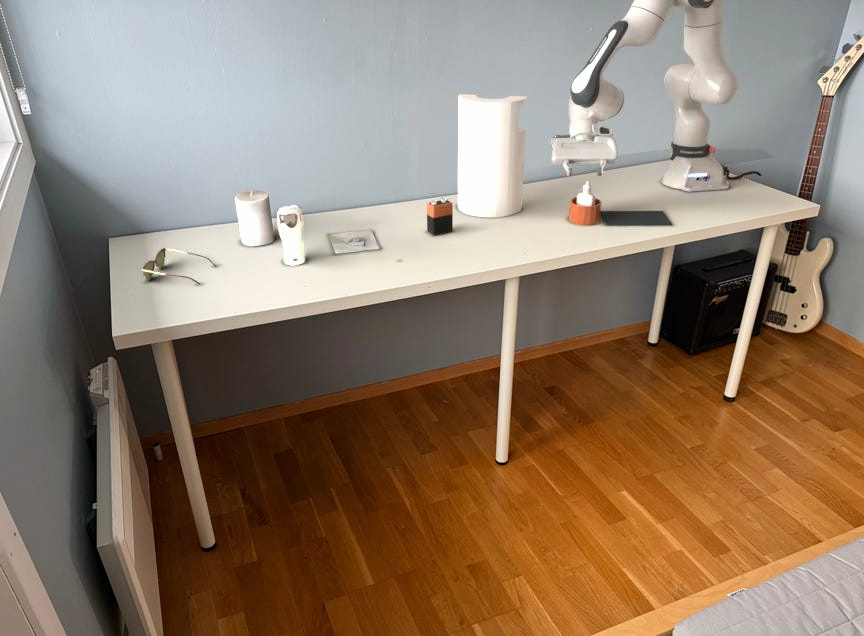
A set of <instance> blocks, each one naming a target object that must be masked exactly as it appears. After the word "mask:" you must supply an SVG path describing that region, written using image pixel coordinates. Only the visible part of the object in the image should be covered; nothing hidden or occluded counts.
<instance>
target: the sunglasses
mask: <svg viewBox="0 0 864 636" xmlns="http://www.w3.org/2000/svg"><path fill="white" fill-rule="evenodd" d="M166 251H169V252H170V251H171V252H178V253H184V254H187V255H192V256H196V257H200V258H204V259H206V260H208V261H209V263H211V264H212V266H214V267H217V265H216V264H215V263H214V262H213V261H212V260H211V259H210V258H209V257H208V256H204V255H201V254H197V253H193V252H192V253H191V252H187V251H182V250H177V249H172V248H166V247H163V248H160V250H159V251H158V252H157V253H156V254H155V257H154V259H153V260H148V261H147V262H146V263H144V265H142V267H141V272H142V274H143V277H144V279H145V281H146V282H147V281H150V280H151V279H152V278H153V275H154V274H158V275H163V276H169V277H177V278H182V279H183V278H185V279H189V280H192V281H193V282H195V283H196V284H198V285H201V282H199V281H197V280H195V279H194V278H193V277H190V276H186V275H180V274H179V275H178V274H172V273H164V272H157V271H155V268H157V269H158V270H162V269H163V267H164V265H165V262H166V259H165V258H166Z"/></svg>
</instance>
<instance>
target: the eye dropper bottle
mask: <svg viewBox="0 0 864 636" xmlns="http://www.w3.org/2000/svg"><path fill="white" fill-rule="evenodd" d="M576 197H577V205H581V206H594V205H595V198H596V196H595V195H594V194H593V193H592V185H591V184H590V181H589V180H586V183H585V184H583V187H582V191H581V192H579V193H578V194H577V196H576Z"/></svg>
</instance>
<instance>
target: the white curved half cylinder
mask: <svg viewBox="0 0 864 636" xmlns="http://www.w3.org/2000/svg"><path fill="white" fill-rule="evenodd" d="M527 102H528V96H521V95H510V96H507V97H502V98H484V97H478V96H477V94H467V93H465V94H464V93H459V94H458V115H457V117H458V118H457V119H458V120H457V121H458V122H457V123H458V124H457V125H458V127H457V132H458V133H457V137H458V138H457V151H458V152H457V208H458V210H459V211H460V212H461V213H463V214H466V215H469V216H473V217H478V218H502V217H508V216H513V215H515V214H517V213H519V212H520V211H521V210H522V205H523V203H522V202H523V186H524V170H525V169H524V168H525V151H526V149H525V148H526V132H527V131H526V130H525V129H523V128H522V127H520V126H519V112H520V111H519V108H520V107H522V106H523V105H525V104H526V103H527Z"/></svg>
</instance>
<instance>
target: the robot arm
mask: <svg viewBox="0 0 864 636" xmlns="http://www.w3.org/2000/svg"><path fill="white" fill-rule="evenodd" d="M673 7H678V8H681V7H684V8H685V9H684V16H683V17H684V20H683V41H682V42H683V43H682V45H683V46H682V47H683V51H684V53H685V54H686V55H687V56H688V57H689V58H690V60H691V61H692V63H693V64H692V63H678V64H674V65H672V66H670V67H669V68H668V70H667V71H666V73H665V75H664V78H663V88H664V90H665V93H666V94H667V95H668V97H669V98H670V101H671V103H672V105H673V110H674V117H675V118H674V119H675V121H674V123H675V124H674V131H673V139H672V141H671V143H670V147H669V151H668V152H669V154H668V158H669V159H668V163H667V167H666V170H665V173H664V175H663V177H662V179H661V183H662V184H663V185H664V186H667V187H669V188H672V189H677V190H681V191H684V192H689V193H690V192H691V193H692V192H705V191H718V190H719V191H721V190H728V189H729V188H730V183H729V181H728V180H737V179H741V178H743V177H744V176H750V175H758V177H762V173H761V172H759V171H757V170H752V171H747V172H743V173H741V174H740V175H735V176H730V170H729V169H728V166H726V165H724V164H721V163H719V162H718V160H716V158H714V156H712V155H714V154H715V153H716V151H717V149H716V147H714V146H712V145H710V144H709V143H708V138H709V132H710V127H711V120H710V118H709V116H708V115H707V114H706V112H705V111H704V110H703V107H702V104H706V105H726V104H727V103H729V102H730V101H732V99H733V98H734V97H735V95H736V94H737V91H738V87H739V83H738V82H739V81H738V78H737V75H736V74H735V73H734V72H733V71H732V70H731V69H730V67H729V65H728V64H727V62H726V60H725V57H724V53H723V50H722V19H723V18H722V17H723V11H722V10H723V3H722V0H633V2H632V3H631V5H630V8H628V9H629V10H628V12H627V13H626V14H625V16H624V17H623V18H622V19H621V20H618V21H616V22H614V23H613V24H612V25H611V27H610V28H609V29H608V30H607V32H606V33H605V35H604V36H603V38H602V39H601V40H600V42H599V44H598V45H597V47H596V48H595V49H594V50H593V51H594V52H593V53H592V54H591V56H590V58H589V59H588V60H587V62H586V64H585V65H584V66H583V68H582V69H581V70H580V72H578V73H577V74H576V76H575V78H574V79H573V80H572V82H571V85H570V94H569V98H568V118H569V125H568V134H555V135H554V136H551V138H550V147H551V148H552V150H551V162H552V164H553V165H562V168H563V169H564V170H565V171H566V176H567V177H572V176H573V168H572V167H571V168H570V166H569V165H572V164H573V165H600V168H597V173H596V174H597V175H596V176H597V177H603V175H604V169H605V167H606V165H614V164H615V163H616V162H617V160H618V157H619V153H618V145H617V142H616V139H615V138H614V137H613V135H614V131H613V129H612V128H609V127H606V126H603V125H600V124H599V122H603V121H607V120H609V119H611V118H613V117H615V116H617V115H618V114H619V113H620V112H621V110H622V108H623V106H624V103H625V94H624V92H623V90H621V88H619V87H618V86H616V85H614V84H613V83H611V82H609V81H608V80H606V79H604V78H603V74H604V73H605V70H606V69H607V68H608V66H609V65H610V63H611V61H612V60H613V58H614V57H615V55H616V54H617V52H618V51H620V49H622V48H625V47H643V46H646V45H649V44H650V43H652V42H654V41H655V39H657V37H658V36H659V34H660V32H661V30H662V28H663V26H664V25H665V22H666V20H667V18H668V15H669V13H670V11H671V9H672V8H673ZM725 177H726V178H725Z"/></svg>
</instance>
